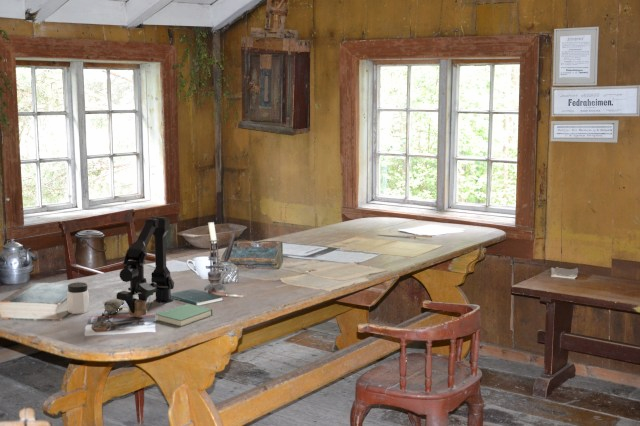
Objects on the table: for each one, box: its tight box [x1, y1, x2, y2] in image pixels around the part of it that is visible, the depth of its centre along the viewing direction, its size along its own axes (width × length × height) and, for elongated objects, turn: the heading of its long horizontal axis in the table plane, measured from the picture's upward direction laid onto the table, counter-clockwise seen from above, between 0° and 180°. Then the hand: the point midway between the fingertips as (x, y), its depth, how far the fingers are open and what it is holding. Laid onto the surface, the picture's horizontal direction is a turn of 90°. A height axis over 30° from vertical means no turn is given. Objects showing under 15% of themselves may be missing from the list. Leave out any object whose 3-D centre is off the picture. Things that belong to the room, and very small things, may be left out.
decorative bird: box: [101, 297, 125, 317], centre depth 357 cm, size 5×16×8 cm, turn 168°
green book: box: [155, 303, 213, 327], centre depth 354 cm, size 20×14×3 cm
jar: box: [66, 281, 90, 315], centre depth 359 cm, size 9×8×12 cm
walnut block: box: [128, 298, 147, 318], centre depth 352 cm, size 5×5×6 cm
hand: (137, 311), depth 352 cm, fingers closed on walnut block, 5 cm apart
